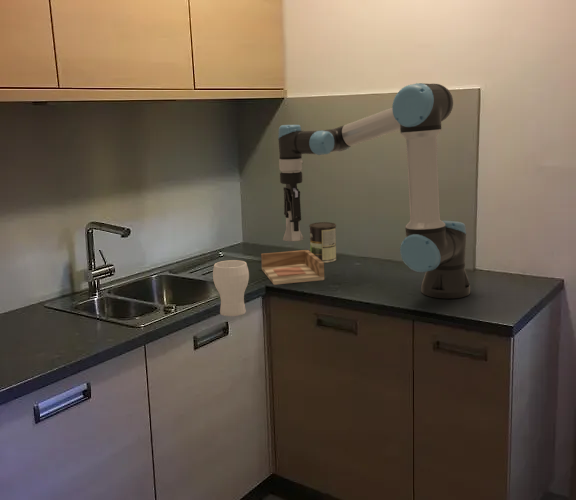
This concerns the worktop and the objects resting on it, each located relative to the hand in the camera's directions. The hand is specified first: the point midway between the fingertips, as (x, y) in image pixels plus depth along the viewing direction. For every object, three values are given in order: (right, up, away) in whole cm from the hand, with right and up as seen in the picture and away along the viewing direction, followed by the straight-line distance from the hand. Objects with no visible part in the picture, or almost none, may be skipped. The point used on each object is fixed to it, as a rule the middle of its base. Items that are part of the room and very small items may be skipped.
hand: (293, 238), depth 228 cm
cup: (-18, -23, -29) cm, 41 cm away
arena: (0, -13, +12) cm, 17 cm away
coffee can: (+12, -8, +32) cm, 36 cm away
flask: (0, -1, 0) cm, 1 cm away
